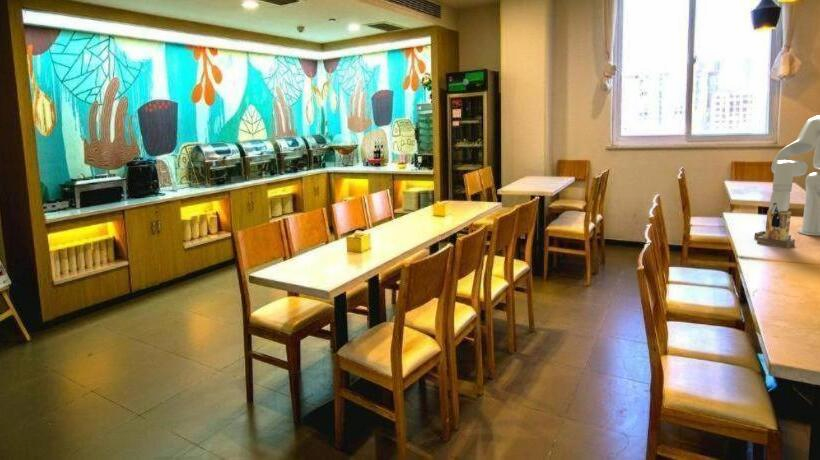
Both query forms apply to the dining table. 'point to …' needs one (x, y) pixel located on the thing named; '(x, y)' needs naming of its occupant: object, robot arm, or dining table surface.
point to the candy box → (780, 231)
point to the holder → (778, 243)
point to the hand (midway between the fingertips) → (777, 225)
